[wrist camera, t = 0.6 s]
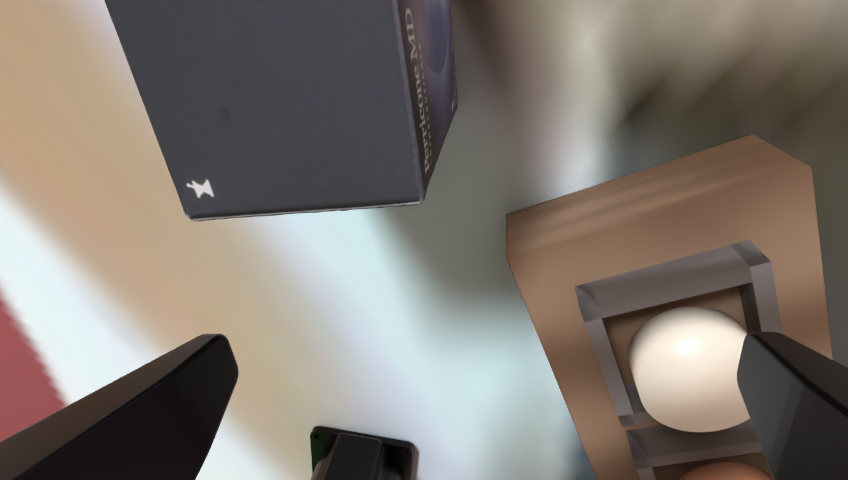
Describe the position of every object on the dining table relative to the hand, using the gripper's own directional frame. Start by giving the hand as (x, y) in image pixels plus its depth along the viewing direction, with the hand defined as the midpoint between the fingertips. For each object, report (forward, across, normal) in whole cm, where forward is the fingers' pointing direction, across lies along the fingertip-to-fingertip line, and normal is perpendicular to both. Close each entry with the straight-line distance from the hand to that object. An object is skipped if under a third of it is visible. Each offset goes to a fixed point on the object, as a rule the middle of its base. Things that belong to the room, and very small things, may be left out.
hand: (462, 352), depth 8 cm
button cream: (+8, -7, +7) cm, 13 cm away
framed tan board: (+14, -9, +14) cm, 22 cm away
